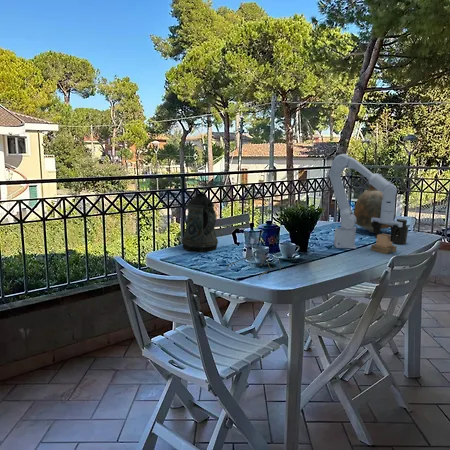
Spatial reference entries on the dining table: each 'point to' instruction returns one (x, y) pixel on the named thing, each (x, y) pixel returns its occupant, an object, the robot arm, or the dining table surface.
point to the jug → (369, 208)
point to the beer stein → (200, 225)
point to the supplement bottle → (402, 233)
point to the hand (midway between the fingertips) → (384, 239)
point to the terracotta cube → (383, 240)
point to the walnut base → (383, 249)
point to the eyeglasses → (261, 264)
